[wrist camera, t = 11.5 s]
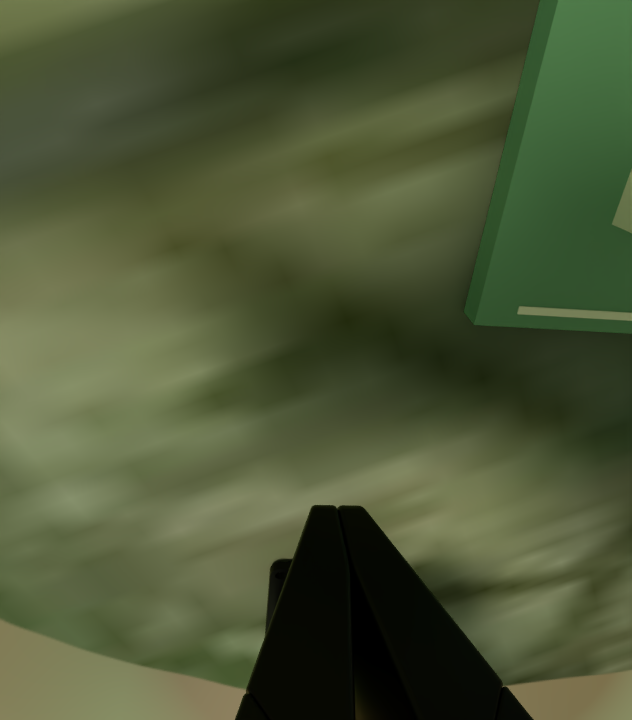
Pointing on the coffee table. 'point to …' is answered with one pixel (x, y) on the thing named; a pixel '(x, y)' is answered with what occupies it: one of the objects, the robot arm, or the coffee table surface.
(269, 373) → the coffee table surface
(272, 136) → the coffee table surface
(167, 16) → the coffee table surface
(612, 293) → the board
